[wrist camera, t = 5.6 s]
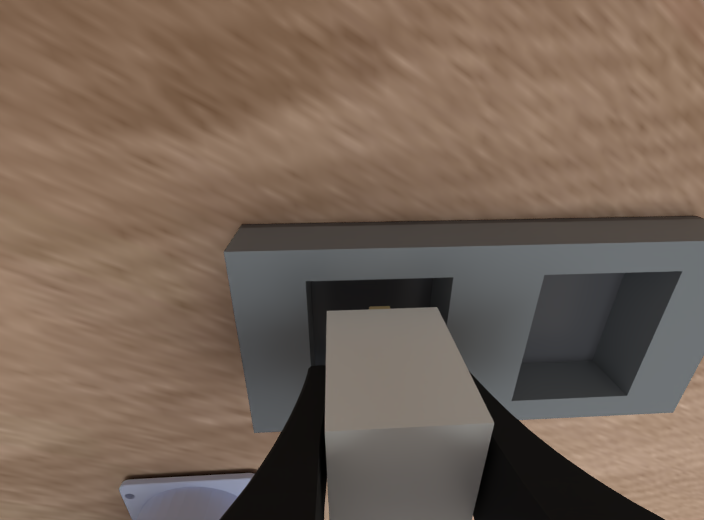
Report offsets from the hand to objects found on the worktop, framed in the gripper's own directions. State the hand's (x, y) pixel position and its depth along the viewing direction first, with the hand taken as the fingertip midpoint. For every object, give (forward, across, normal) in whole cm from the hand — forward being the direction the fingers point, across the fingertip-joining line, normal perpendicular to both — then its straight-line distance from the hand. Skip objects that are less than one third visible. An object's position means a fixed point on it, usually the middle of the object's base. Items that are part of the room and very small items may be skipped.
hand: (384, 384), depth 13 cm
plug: (+2, 0, 0) cm, 2 cm away
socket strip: (+5, -4, 0) cm, 7 cm away
